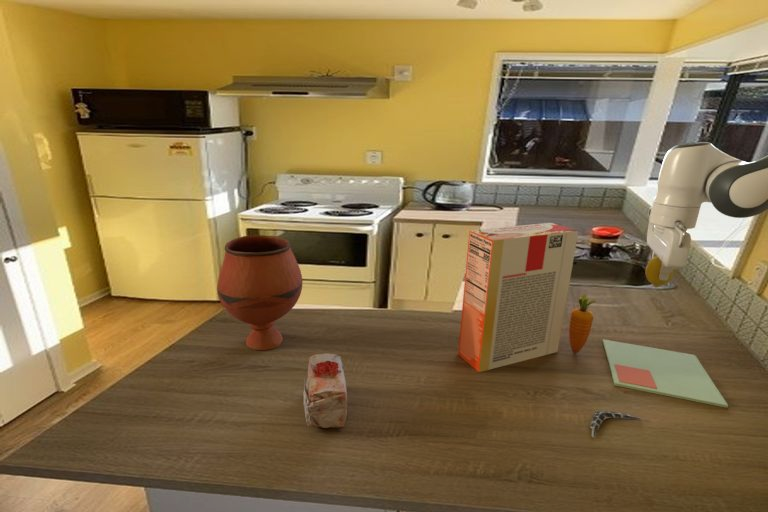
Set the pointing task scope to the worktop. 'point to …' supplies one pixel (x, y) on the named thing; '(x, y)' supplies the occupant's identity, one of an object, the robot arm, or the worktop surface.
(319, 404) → the food item
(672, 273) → the lemon
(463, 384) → the worktop surface
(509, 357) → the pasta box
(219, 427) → the worktop surface
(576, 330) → the carrot
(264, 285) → the goblet
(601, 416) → the patterned boomerang
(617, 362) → the mat
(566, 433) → the worktop surface
